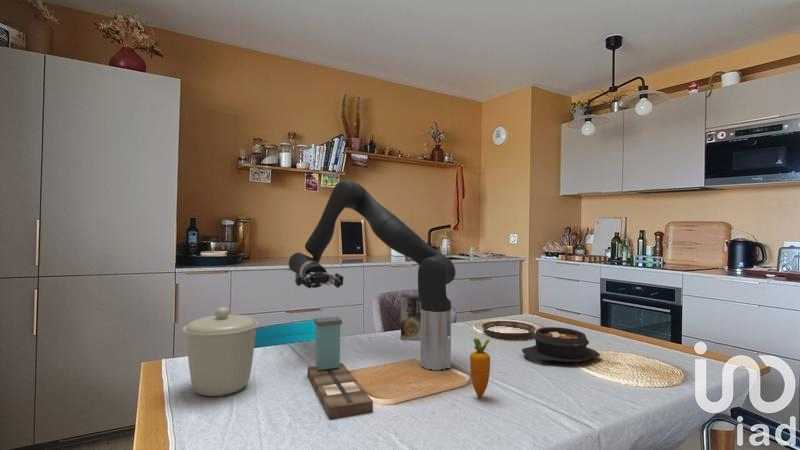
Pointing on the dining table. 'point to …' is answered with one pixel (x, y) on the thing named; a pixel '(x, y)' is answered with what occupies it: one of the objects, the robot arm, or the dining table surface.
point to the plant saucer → (509, 324)
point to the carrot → (480, 367)
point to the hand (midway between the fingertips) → (324, 284)
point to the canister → (220, 352)
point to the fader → (327, 342)
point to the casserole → (560, 346)
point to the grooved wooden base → (339, 392)
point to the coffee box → (410, 317)
